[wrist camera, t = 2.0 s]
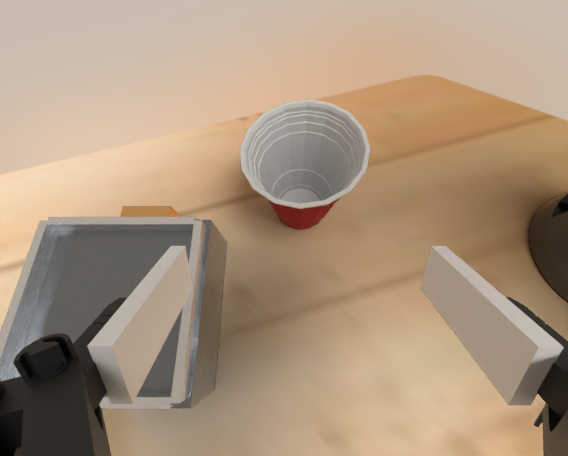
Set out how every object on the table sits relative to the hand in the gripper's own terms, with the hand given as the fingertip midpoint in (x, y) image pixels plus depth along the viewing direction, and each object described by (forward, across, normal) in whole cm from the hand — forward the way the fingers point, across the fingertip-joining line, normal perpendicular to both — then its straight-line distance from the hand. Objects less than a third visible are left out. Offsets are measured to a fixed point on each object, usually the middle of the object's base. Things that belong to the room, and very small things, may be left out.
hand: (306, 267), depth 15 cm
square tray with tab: (+11, -16, -11) cm, 22 cm away
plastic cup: (+19, 0, -4) cm, 19 cm away
